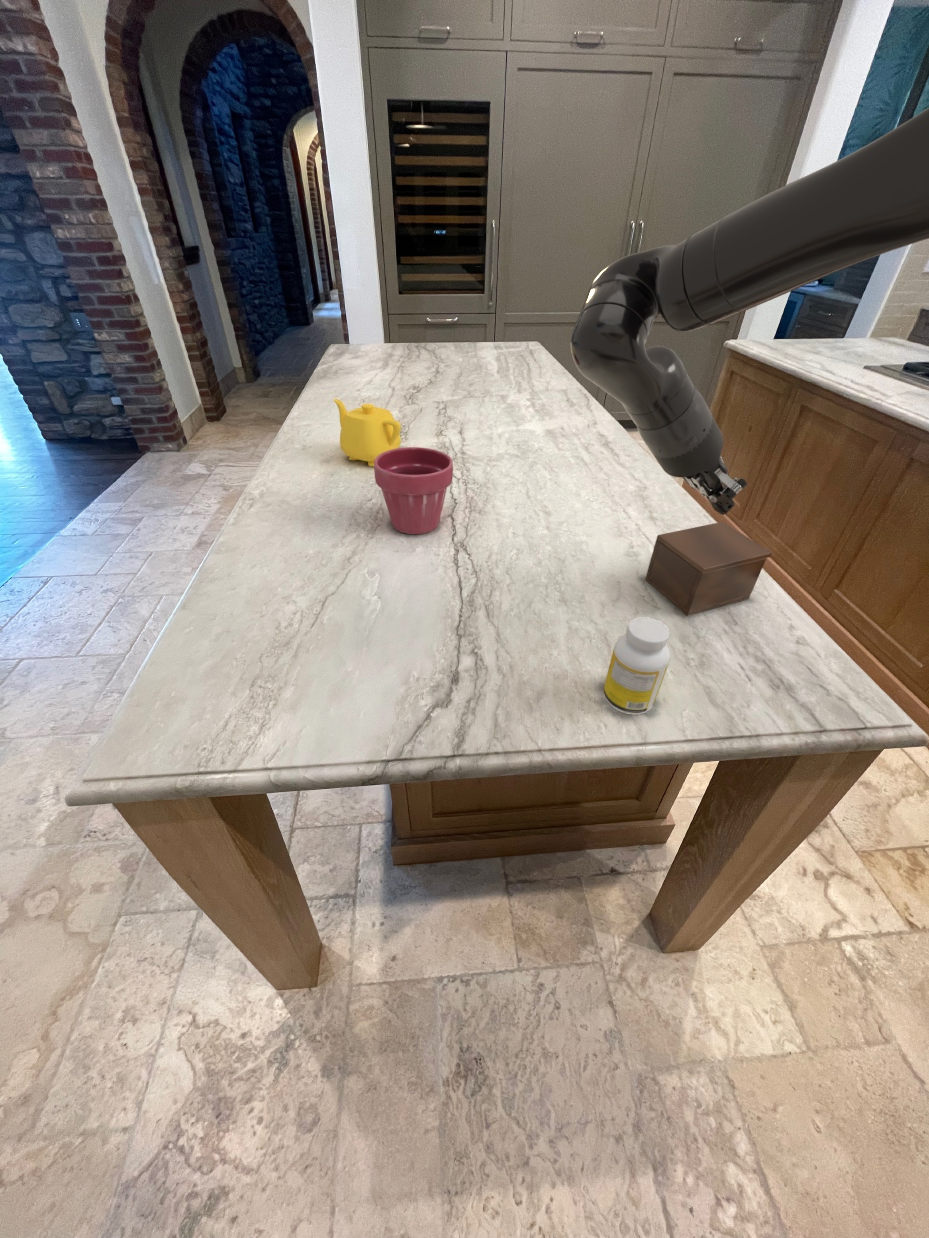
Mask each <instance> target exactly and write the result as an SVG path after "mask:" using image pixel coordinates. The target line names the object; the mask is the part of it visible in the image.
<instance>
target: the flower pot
mask: <svg viewBox="0 0 929 1238" xmlns="http://www.w3.org/2000/svg"><path fill="white" fill-rule="evenodd" d="M373 471H374V480H375V484H376V485H377V487H379V488H380V489H381V492H382V497H383V498H384V499H383V500H384V502H385V505H386V508H387V511H388V515H389V519H390V522H391V524H392V527H393V528H394V529H395V530H396V531H398V532H400V533H403V534H407V535H423V534H428V533H430V532H433V531H434V530H436V529H437V528H438V526H439V523H440V519H441V516H442V513H443V512H442V511H443V507H444V504H445V499H446V495H447V488H449V486H450V485H451V484H452V482H453V478H454V477H453V474H454V464H453V459H452V457H451V456H450V455H449V454H447V453H445V452H443V451H440V450H437V449H434V448H428V447H422V446H421V447H418V446H408V447H407V446H406V447H399V448H397V449H392V450H389V451H386V452H384V453H382V454H380V455H378V456H377V457H376V458H375V460H374V466H373Z"/></svg>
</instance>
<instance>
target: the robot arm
mask: <svg viewBox="0 0 929 1238" xmlns="http://www.w3.org/2000/svg"><path fill="white" fill-rule="evenodd" d="M926 240H929V107H927V108H926V109H924V110H922V111H921V112H919V113H917V114H916V115H915V116H913V117H912V118H909V119H908V120H907V121H905V122H904V123H902V124H900V125H898V126H897V127H895V128H894V129H892V130H890V131H888V132H887V133H885V134H884V135H882V136H879V137H878V138H877V139H875V140H873V141H872V142H870V143H868V144H866V145H864V146H863V147H861V148H859V149H857V150H855V151H854V152H851V153H850V154H848V155H846V156H844V157H842V158H840V159H838V160H835V161H834V162H832V163H830V164H829V165H826V166H824V167H822V168H820V169H818V170H816V171H814V172H811V173H809V174H807V175H805V176H803V177H800V178H797V179H795V180H794V181H792V182H789V183H787V184H786V185H784V186H781V187H779V188H777V189H775V190H772V191H771V192H768V193H766V194H764V195H763V196H761V197H758V198H756V199H755V200H753V201H750V202H749V203H746V204H745V205H743V206H741V207H739V208H737V209H736V210H734V211H731V212H730V213H728V214H726V215H725V216H723V217H721V218H719V219H718V220H715V221H714V222H712V223H710V224H709V225H707V226H705V227H703V228H701V229H700V230H698V231H696V232H694V233H693V234H691V235H689V236H687V237H686V238H684V239H683V240H681V241H679V242H677V243H672V244H666V245H660V246H657V247H653V248H650V249H649V248H648V249H646V250H641V251H638V252H634V253H632V254H628V255H625V256H623V257H621V258H619V259H616V260H615V261H613V262H612V263H610V264H609V265H608V266H606V267H605V268H604V269H603V270H602V271H601V272H600V273H599V274H598V275H597V276H596V277H595V278H594V280H593V282H592V284H591V286H590V288H589V289H588V292H587V294H586V297H585V300H584V302H583V305H582V307H581V310H580V312H579V315H578V317H577V320H576V322H575V325H574V327H573V330H572V333H571V337H570V346H569V347H570V352H571V356H572V360H573V362H574V365H575V366H576V368H577V370H578V371H579V373H580V374H581V375H582V376H583V377H584V378H586V379H587V380H588V381H590V382H591V383H593V384H594V385H595V386H597V387H598V388H600V389H601V390H603V391H604V392H605V393H606V394H608V395H609V396H610V397H612V398H613V399H615V400H617V401H618V402H619V403H621V405H622V406H623V409H624V410H625V411H626V413H627V414H628V416H629V417H630V419H631V420H632V422H633V423H634V424H635V426H636V428H637V431H638V433H639V435H640V437H641V440H643V442H644V443H645V445H646V447H647V448H648V450H649V451H650V452H651V454H652V455H653V457H654V458H655V460H656V461H657V463H658V464H659V466H660V467H661V469H662V470H663V471H664V473H666V474H667V475H669V476H671V477H674V478H681V479H683V481H685V483H687V484H688V485H689V487H690V488H691V489H692V490H695V491H698V492H699V493H700V495H701V496H702V497H704V498H706V499H707V501H708V503H709V504H710V506H711V507H712V508H713V509H712V510H714V511H715V512H716V513H719V514H720V515H722V516H725V515H726V514H728V513H729V512H730V511H731V510H732V508H734V507H735V501H734V500H733V499H734V498H736V496H737V495H739V493H740V492H741V491H742V490H744V489H745V488H746V486H747V485H748V482H747V481H746V479H744V478H742V477H739V478H738V477H733V478H731V476H730V475H728V472H729V470H728V467H727V466H726V464H725V461H724V459H723V457H722V456H721V454H722V450H723V447H724V435H723V432H722V431H721V429H720V427H719V425H718V423H717V421H716V419H715V418H714V414H713V413H712V412H711V410H710V407H709V406H708V404H707V402H706V399H705V398H704V396H703V395H702V394H701V392H700V391H699V390H698V388H697V387H696V386H695V384H694V383H693V380H692V379H691V377H690V375H689V373H688V371H687V369H686V367H685V365H684V364H683V361H682V360H681V358H680V357H679V355H678V354H677V353H676V352H675V350H673V349H672V348H670V347H669V346H666V345H663V344H662V345H661V344H657V345H651V346H647V347H646V345H647V341H648V338H649V336H650V333H651V330H652V328H653V324H654V321H655V320H656V319H657V318H659V317H660V316H661V318H662V319H663V321H664V322H665V323H666V325H668V326H669V327H670V328H671V329H672V330H675V331H676V332H681V333H687V332H693V331H697V330H700V329H703V328H706V327H708V326H710V325H713V324H717V323H718V322H721V321H724V320H726V319H728V318H731V317H734V316H736V315H739V314H740V313H743V312H745V311H749V310H750V309H753V308H755V307H758V306H761V305H762V304H765V303H767V302H769V301H772V300H774V299H776V298H779V297H781V296H783V295H786V294H788V293H790V292H793V291H795V290H798V289H799V288H801V287H804V286H806V285H809V284H811V283H814V282H815V281H818V280H820V279H823V278H825V277H827V276H829V275H832V274H834V273H837V272H840V271H841V270H844V269H846V268H849V267H852V266H854V265H857V264H858V263H861V262H864V261H866V260H870V259H872V258H875V257H878V256H881V255H884V254H886V253H889V252H892V251H895V250H898V249H901V248H904V247H907V246H910V245H913V244H917V243H919V242H923V241H926Z"/></svg>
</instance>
